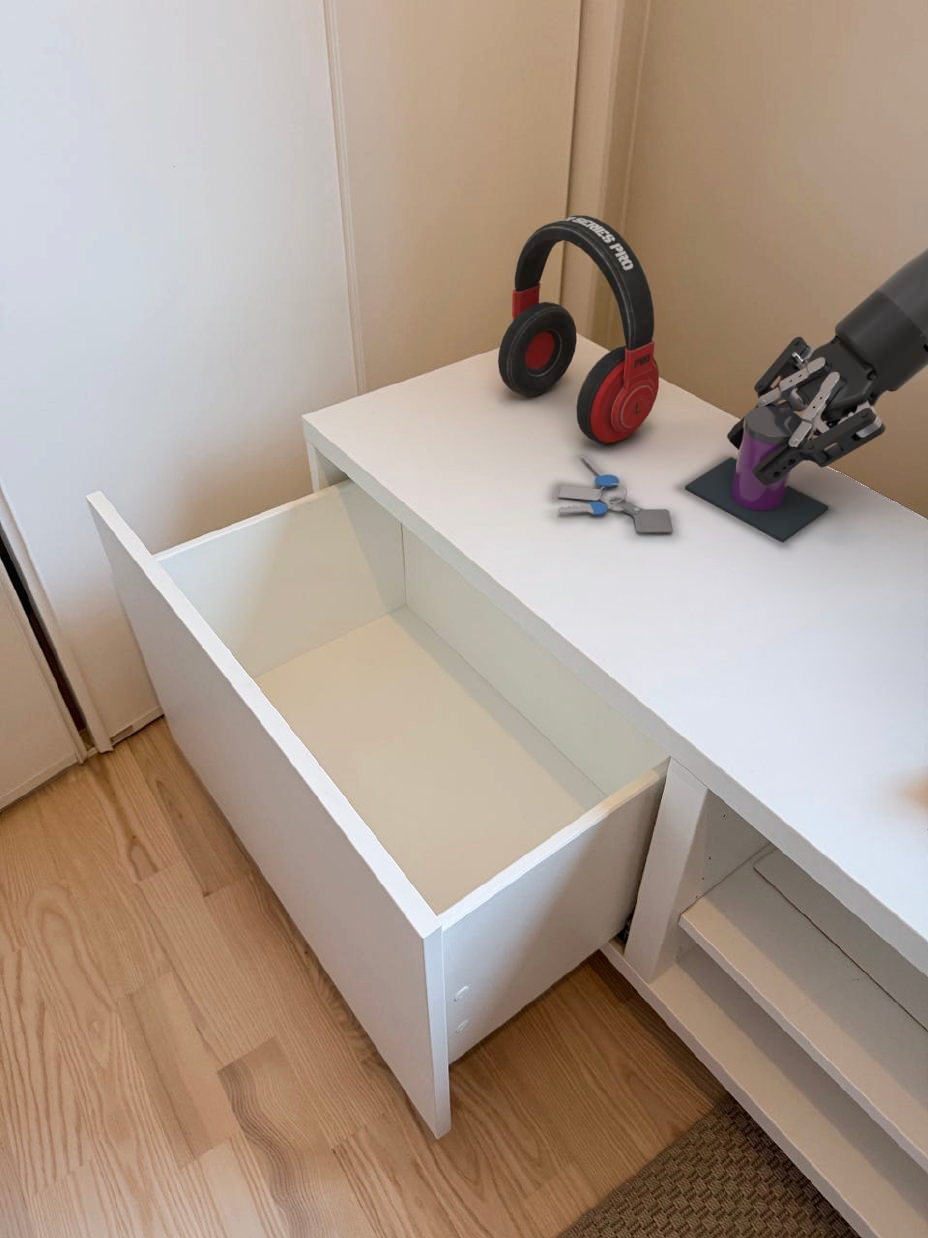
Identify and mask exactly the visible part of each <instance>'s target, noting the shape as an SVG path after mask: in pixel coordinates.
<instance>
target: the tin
mask: <svg viewBox="0 0 928 1238" xmlns="http://www.w3.org/2000/svg"><path fill="white" fill-rule="evenodd" d="M744 417H745V419H744V424H743V427H744V429H743V434H742V439H741V444H740V449H739V450H738V454H737V459H736V460H737V463H736V468H735V472H734V477H733V482H732V487H731V496H732V498H733V500H734V501H735V502H736V503H737V504H739V505H741V506H743V507H745V508H747V509H751V510H757V511H767V510H772V509H775V508H777V507H778V506H780V505H781V504H782V502H783V499H784V496H785V492H786V488H787V486H788V484H789V479H790V476H791V472H792V470H791V471H789V472H788V473H786V475H785V476H783V477H782V478H781V479H780V480H779V481H777V482H775V483H773V484H772V483H771V484H770V485H763V484H762V483H761V482H760V481H759V480H758V479H757V478H756V477H755V476H754V474H753V473H752V470H753V468H754V467H755V466H756V465H757V464H758V463H760V462H761V461H762V460H763V459H764V458H765V457H767V456H768V455H769V454H770V453H771V452H773V451H774V450H775V449H776V448H777V447H778V446H780V445H781V444H782V443H784V442H786V443H787V444H789V439H790V438H791V436H792V435H793V434H794V432H795V431H796V430H797V428H798V427H799V426H800V424H801V423H802V416H800V415H798V414H797V413H796V412H795V411H794V412H793V411H790V410H788V409H785V408H781V407H775V406H763V407H758V408H755V407H754V408H752V409H750V410H749V411H748V412H746V414H745V415H744Z"/></svg>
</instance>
